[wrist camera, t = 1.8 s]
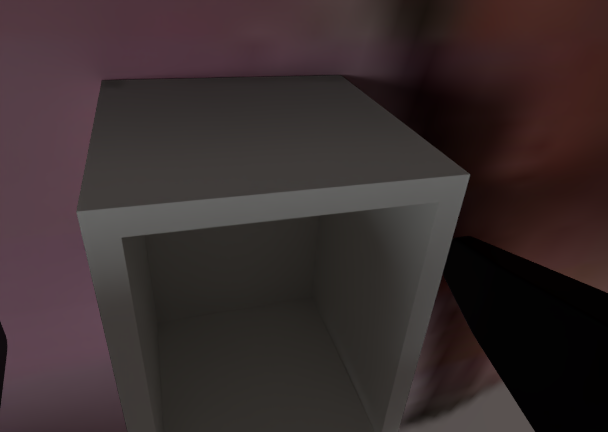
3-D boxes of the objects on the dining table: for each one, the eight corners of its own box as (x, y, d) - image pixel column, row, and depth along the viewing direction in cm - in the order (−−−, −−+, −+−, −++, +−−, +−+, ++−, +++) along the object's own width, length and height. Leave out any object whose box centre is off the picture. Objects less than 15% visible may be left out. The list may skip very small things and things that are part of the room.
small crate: (318, 294, 14) (393, 448, 10) (142, 322, 12) (146, 516, 8) (340, 75, 10) (470, 174, 6) (102, 80, 9) (76, 211, 5)
